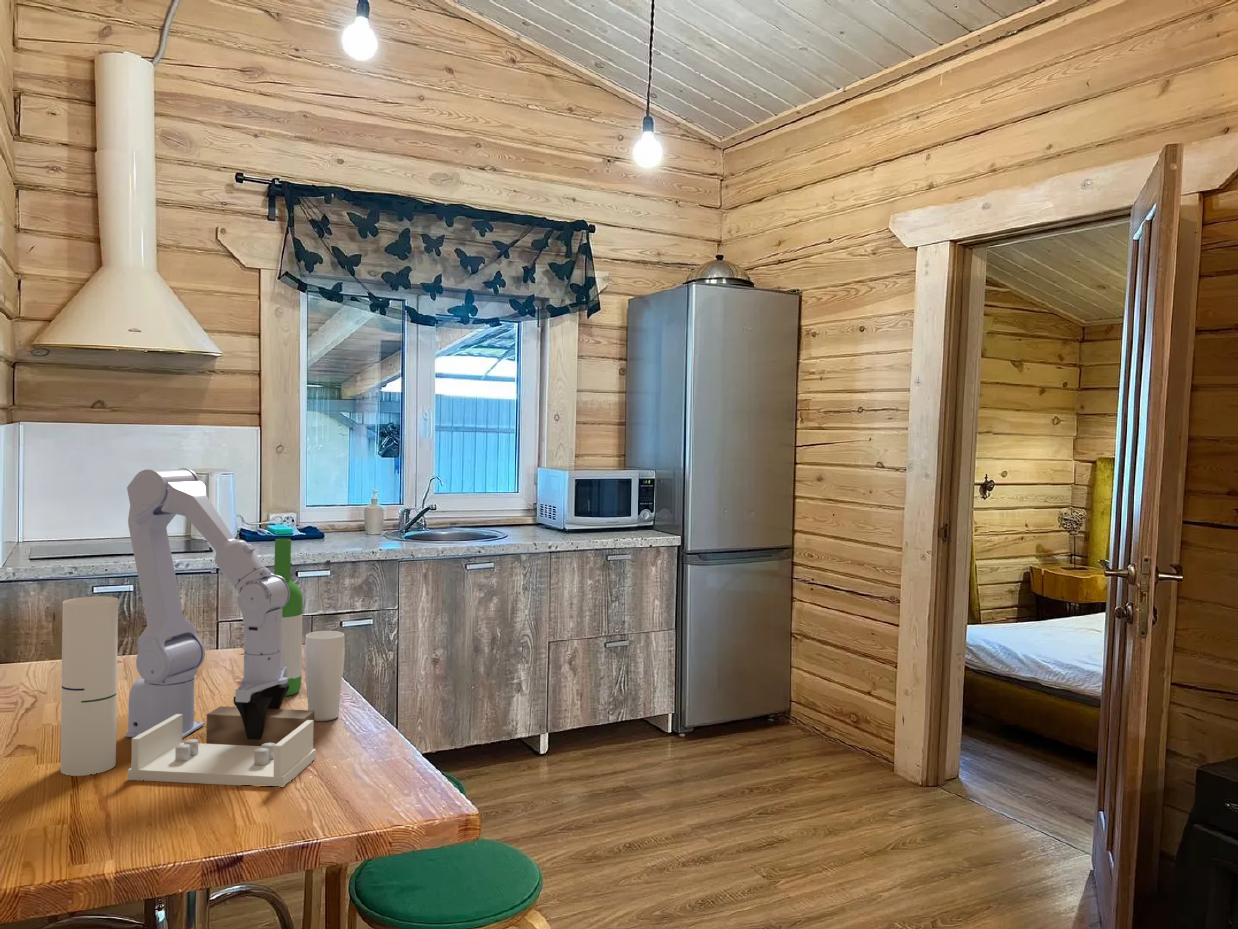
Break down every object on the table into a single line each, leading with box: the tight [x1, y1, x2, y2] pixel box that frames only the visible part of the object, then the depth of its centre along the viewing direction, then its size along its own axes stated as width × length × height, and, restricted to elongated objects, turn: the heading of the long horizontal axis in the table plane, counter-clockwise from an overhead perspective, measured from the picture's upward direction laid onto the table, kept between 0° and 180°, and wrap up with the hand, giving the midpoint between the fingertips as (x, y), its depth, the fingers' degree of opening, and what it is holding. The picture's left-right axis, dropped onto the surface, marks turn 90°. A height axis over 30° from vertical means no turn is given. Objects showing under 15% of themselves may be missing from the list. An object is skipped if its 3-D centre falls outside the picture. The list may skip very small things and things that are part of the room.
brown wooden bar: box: [205, 705, 315, 746], centre depth 149 cm, size 16×4×5 cm, turn 87°
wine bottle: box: [273, 538, 304, 697], centre depth 177 cm, size 8×8×30 cm
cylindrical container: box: [60, 595, 119, 777], centre depth 136 cm, size 7×7×25 cm
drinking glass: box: [304, 630, 346, 722], centre depth 162 cm, size 7×7×15 cm
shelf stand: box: [127, 714, 317, 786], centre depth 137 cm, size 23×12×6 cm, turn 87°
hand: (261, 734), depth 149 cm, fingers closed on brown wooden bar, 4 cm apart
